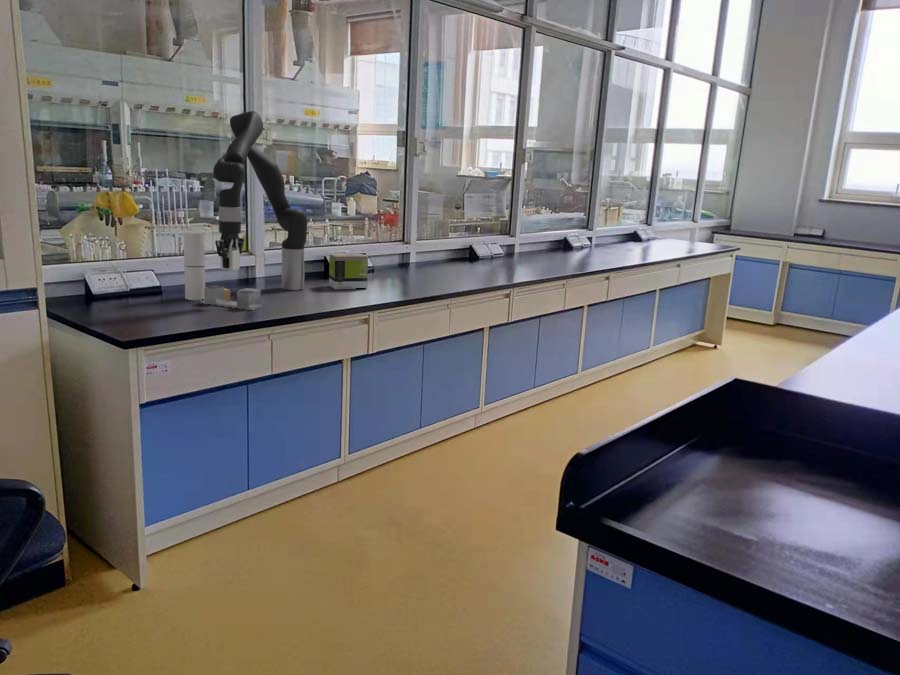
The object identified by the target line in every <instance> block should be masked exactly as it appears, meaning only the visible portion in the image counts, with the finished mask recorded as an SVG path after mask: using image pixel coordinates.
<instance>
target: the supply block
mask: <svg viewBox="0 0 900 675" xmlns="http://www.w3.org/2000/svg"><path fill="white" fill-rule="evenodd" d="M243 290H249V291H255V292H257V300H258V299H261V295H262V294H261V291H262V290H261V289H257V288H250V287H249V288H248V287H245V288H242V289H238V291H237V292H239V291H243Z"/></svg>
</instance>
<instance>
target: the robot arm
mask: <svg viewBox="0 0 900 675" xmlns="http://www.w3.org/2000/svg"><path fill="white" fill-rule="evenodd" d="M229 125H230V128H231V131H232V133H233V135H234V137H235V139H234V140H232V141H231V142H230V143H229V145H228V147H227V150H226V152H225V153H224V155H222V156H221V157H220V158H219V159H218V160H217V161H216V162H215V164H214V166H213V169H212V170H213V171H212V173H213V174H212V175H213V177H214V179H215V180H216V181H217V182H220V183H232V184H233V185H232V187H230V188H226V189H224V188H223V189H221V190H219V194H218V196H219V197H218V198H219V199H218V202H219V203H218V204H219V207H218V232H219V233H220V238H219V240H217V239H215V242H214V244H215V247H216V252H217V255H218V257H220V258H221V257H222V258H223V268H229V252H230V251H231V249H236V250H239V255H242V251H243V246H244V244H245V239H244V238H243V237H239V236H240V235H239V234H241V232H242V227H241V226H242V214H241V212H242V211H241V193H242V188H243V183H244V182H245V181H244V180H245V177H246V169H245V166H244V165H245V162H246V160H247V158H248V160H249V163H250V164H251V166H252V168H253V170H254V173H255V174H256V175H255V176H256V177H257V179H258V181H259V183H260V185H261V186H262V189H263V191H264V192H265V195H266V197H267V198H268V201H269V203H270V204H271V205H270V206H272V209H273V212H274V215H275V217H276V219H277V222H278V224H279V226H280V228H281V229H282V230H284V231H286V232H287V238H285V239H284V240H282V242H281V289H282V290H286V289H287V291H300V289H302V290H304V289H303V288H305V273H306V272H305V245H306V242H307V236H308V235H307V234H308V218H307V216H306V215H307V214H305V212H303V211H302V210H298V209H294V208H292V207H291V205H290V204H289V201H288V200H287V196H286V191H285V179H284V176H283V174H282V172H281V170H280V167H279V165H278V163H276V161H274V159H272V158H271V157H270V156H268V155H267V154H265V153H264V152H263V151H261V150H260V149H259V147H257V145H255V143H256V141H257V140H258V139H259V137H260V136H261V135H262V133H263V132H264V122H263V119H262V117H261V116H260V114H259V113H258V112H257V111H254V110H249V111H245V112H243V113H239V114H236V115H233V116H231V117H230V120H229ZM221 251H222V253H221ZM225 251H227V253H225Z"/></svg>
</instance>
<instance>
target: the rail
mask: <svg viewBox="0 0 900 675" xmlns="http://www.w3.org/2000/svg"><path fill="white" fill-rule="evenodd" d="M224 288H225V286H218V285H209V286H205V287H204V297H205V299H204V300H199V303H200V304H202V303H203V304H202V305H208V304H210V306H215V305H217V307H222V306H224V307H223V308H228V307H232V308H231V309H235V308H238V309H237V310H242V309H244V310H243V311H248V310H253V311H256V310H255V309H257V310H259V309H258V308H260V309H262V305H260V304H258V299H257V292H255V291H249V290H243V291H239V292H238V291H237V292H236V301H233V300H225V291H224Z"/></svg>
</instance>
